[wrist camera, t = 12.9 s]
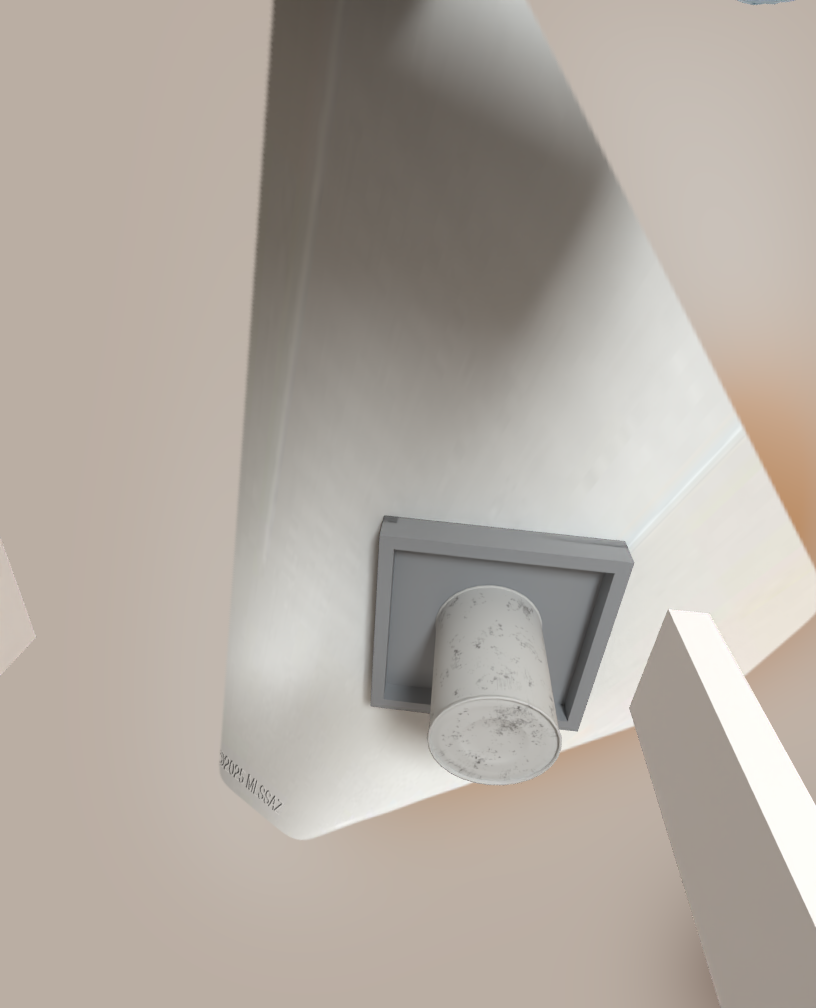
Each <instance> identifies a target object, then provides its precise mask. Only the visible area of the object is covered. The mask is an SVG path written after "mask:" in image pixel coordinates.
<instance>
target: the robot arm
mask: <svg viewBox="0 0 816 1008" xmlns="http://www.w3.org/2000/svg"><path fill="white" fill-rule="evenodd" d="M738 1H740V2H742V3H747V4H751V5H755V4H756V5H757V4H765V3H766V4H776V3H779V2H790V1H794V0H738ZM35 638H36V635H35V632H34V629H33V627H32V624H31V621H30V618H29V615H28V613H27V610H26V607H25V604H24V602H23V599H22V596H21V593H20V590H19V588H18V585H17V582H16V579H15V576H14V573H13V571H12V568H11V565H10V562H9V560H8V557H7V554H6V551H5V548H4V545H3V543H2V540H1V537H0V675H1V674H2V673H3V672H4V671H5V670H6V669H7V668H8V667H9V666H10V665H11V664H12V663H13V662H14V660H15V659H16V658H17V657H18V656H19V655H20V654H21V653H22V652H23V651H24V650H25V649H26V648H27V646H28V645H29V644H30V643H31V642H32V641H33V640H34V639H35ZM629 709H630V712H631V715H632V718H633V722H634V725H635V728H636V732H637V735H638V738H639V741H640V745H641V748H642V751H643V755H644V757H645V761H646V764H647V768H648V771H649V774H650V778H651V781H652V784H653V787H654V791H655V794H656V797H657V800H658V804H659V807H660V810H661V814H662V817H663V820H664V824H665V827H666V830H667V833H668V837H669V840H670V843H671V846H672V850H673V853H674V856H675V859H676V863H677V866H678V869H679V873H680V876H681V879H682V883H683V886H684V889H685V893H686V895H687V899H688V902H689V905H690V909H691V912H692V916H693V918H694V922H695V925H696V929H697V932H698V935H699V938H700V942H701V945H702V948H703V951H704V954H705V958H706V961H707V965H708V968H709V971H710V975H711V978H712V981H713V984H714V987H715V991H716V994H717V997H718V1001H719V1004H720V1008H816V805H815V804H814V802H813V800H812V798H811V796H810V794H809V793H808V791H807V789H806V787H805V786H804V784H803V782H802V780H801V778H800V776H799V775H798V773H797V771H796V769H795V767H794V766H793V764H792V762H791V760H790V758H789V757H788V755H787V753H786V751H785V749H784V747H783V746H782V744H781V742H780V740H779V739H778V737H777V735H776V733H775V731H774V730H773V728H772V726H771V724H770V722H769V720H768V719H767V717H766V715H765V713H764V711H763V710H762V708H761V706H760V704H759V702H758V700H757V699H756V697H755V695H754V693H753V692H752V690H751V688H750V686H749V684H748V683H747V681H746V679H745V677H744V675H743V673H742V672H741V670H740V668H739V666H738V664H737V662H736V661H735V659H734V657H733V655H732V653H731V652H730V650H729V648H728V646H727V644H726V643H725V641H724V639H723V637H722V635H721V634H720V632H719V630H718V628H717V626H716V625H715V623H714V621H713V619H712V617H711V615H710V614H709V613H700V612H691V611H682V610H673V609H668V611H667V613H666V616H665V618H664V621H663V623H662V626H661V629H660V631H659V634H658V636H657V639H656V641H655V644H654V646H653V649H652V651H651V654H650V657H649V659H648V662H647V664H646V667H645V669H644V672H643V674H642V677H641V679H640V682H639V684H638V687H637V690H636V692H635V695H634V697H633V700H632V702H631V705H630V707H629Z"/></svg>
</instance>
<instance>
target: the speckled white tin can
mask: <svg viewBox="0 0 816 1008" xmlns="http://www.w3.org/2000/svg"><path fill="white" fill-rule="evenodd" d="M435 627H436V638H435V652H434V667H433V681H432V696H431V710H430V725H429V731H428V736H427V740H428V747H429V750H430V752H431V754H432V756H433V758H434V759H435V760H436V761H437V762H438V763H439V765H440V766H441V767H443V768H444V769H445V770H447V771H448V772H450V773H451V774H453V775H455V776H457V777H459V778H461V779H464V780H467V781H471V782H474V783H480V784H487V785H508V784H516V783H520V782H523V781H527V780H530V779H532V778H534V777H537V776H538V775H541V774H542V773H543V772H545V771H546V770H547V769H549V768H550V767H551V766H552V765H553V764H554V762H555V761H556V760H557V758H558V756H559V753H560V751H561V740H562V738H561V734H560V731H559V728H558V722H557V716H556V710H555V704H554V698H553V692H552V686H551V680H550V674H549V668H548V662H547V656H546V650H545V644H544V638H543V632H542V620H541V617H540V614H539V611H538V610H537V608H536V607H535V605H534V604H533V603H532V602H531V601H530V600H529V599H528V598H527V597H526V596H524V595H522V594H521V593H519V592H517V591H515V590H512V589H509V588H506V587H503V586H496V585H479V586H474V587H470V588H466V589H464V590H462V591H460V592H457V593H456V594H454V595H453V596H451V597H450V598H449V599H447V601H446V602H445V603H444V604H443V605H442V606H441V608H440V610H439V612H438V614H437V618H436V624H435Z"/></svg>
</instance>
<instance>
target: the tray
mask: <svg viewBox="0 0 816 1008" xmlns="http://www.w3.org/2000/svg"><path fill="white" fill-rule="evenodd" d="M633 565H634V561H633V559H632V556H631V554H630V552H629V549H628V547H627V545H626V543H625V541H616V540H607V539H598V538H588V537H579V536H570V535H560V534H551V533H542V532H532V531H523V530H514V529H504V528H495V527H486V526H476V525H467V524H458V523H448V522H439V521H430V520H420V519H411V518H402V517H392V516H384V519H383V523H382V528H381V532H380V538H379V557H378V576H377V595H376V614H375V633H374V652H373V671H372V690H371V706H373V707H381V708H389V709H397V710H405V711H414V712H422V713H430V710H431V696H432V681H433V667H434V652H435V638H436V627H435V624H436V618H437V614H438V612H439V610H440V608H441V606H442V605H443V604H444V603H445V602H446V601H447V599H449V598H450V597H451V596H453V595H454V594H456V593H457V592H460V591H462V590H464V589H466V588H470V587H474V586H479V585H496V586H503V587H506V588H509V589H512V590H515V591H517V592H519V593H521V594H522V595H524V596H526V597H527V598H528V599H529V600H530V601H531V602H532V603H533V604H534V605H535V607H536V608H537V610H538V611H539V614H540V617H541V620H542V632H543V638H544V644H545V650H546V656H547V662H548V668H549V674H550V680H551V686H552V692H553V698H554V704H555V710H556V716H557V722H558V728H559V729H561V730H570V731H578V729H579V726H580V723H581V720H582V717H583V714H584V711H585V708H586V705H587V702H588V699H589V696H590V693H591V690H592V687H593V684H594V681H595V678H596V675H597V672H598V669H599V666H600V663H601V660H602V657H603V654H604V651H605V648H606V645H607V642H608V639H609V637H610V634H611V631H612V628H613V625H614V622H615V619H616V616H617V613H618V610H619V607H620V604H621V601H622V598H623V595H624V592H625V589H626V586H627V583H628V580H629V577H630V574H631V571H632V568H633Z"/></svg>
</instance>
